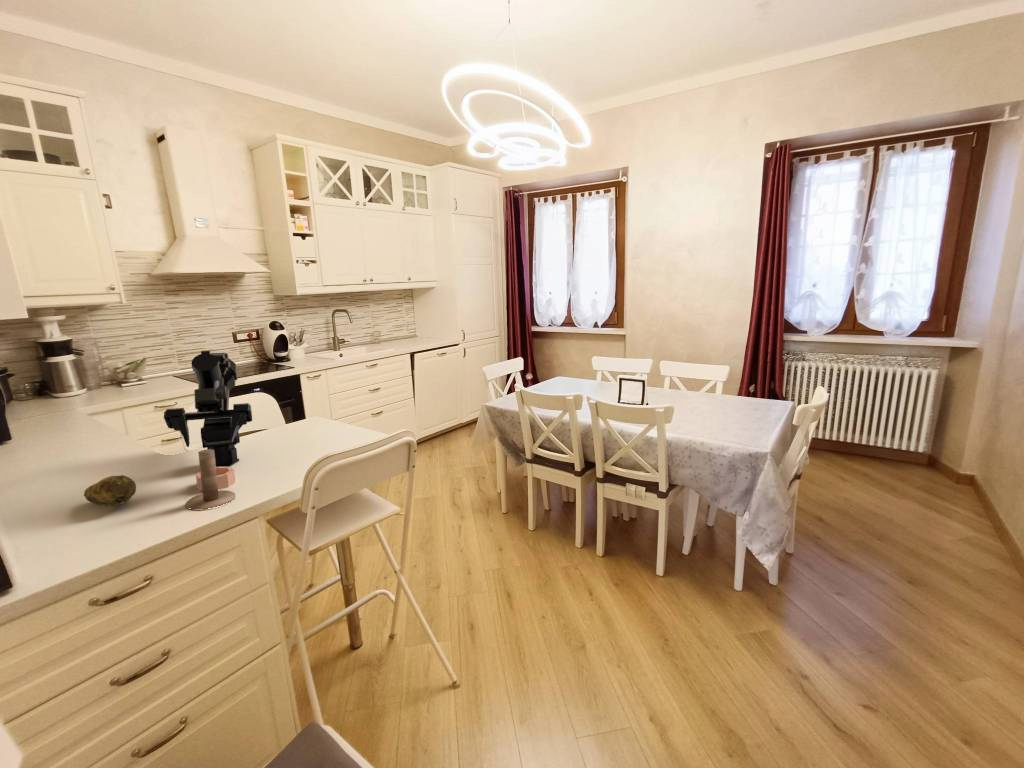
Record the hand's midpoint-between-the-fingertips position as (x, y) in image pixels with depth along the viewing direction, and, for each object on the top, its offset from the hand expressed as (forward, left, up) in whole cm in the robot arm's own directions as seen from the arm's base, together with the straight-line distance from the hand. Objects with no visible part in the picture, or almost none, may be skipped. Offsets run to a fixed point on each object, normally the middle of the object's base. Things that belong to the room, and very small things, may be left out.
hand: (209, 443), depth 113 cm
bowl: (-2, +4, -13) cm, 13 cm away
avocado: (-18, -9, -13) cm, 24 cm away
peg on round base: (+3, -6, -13) cm, 14 cm away
